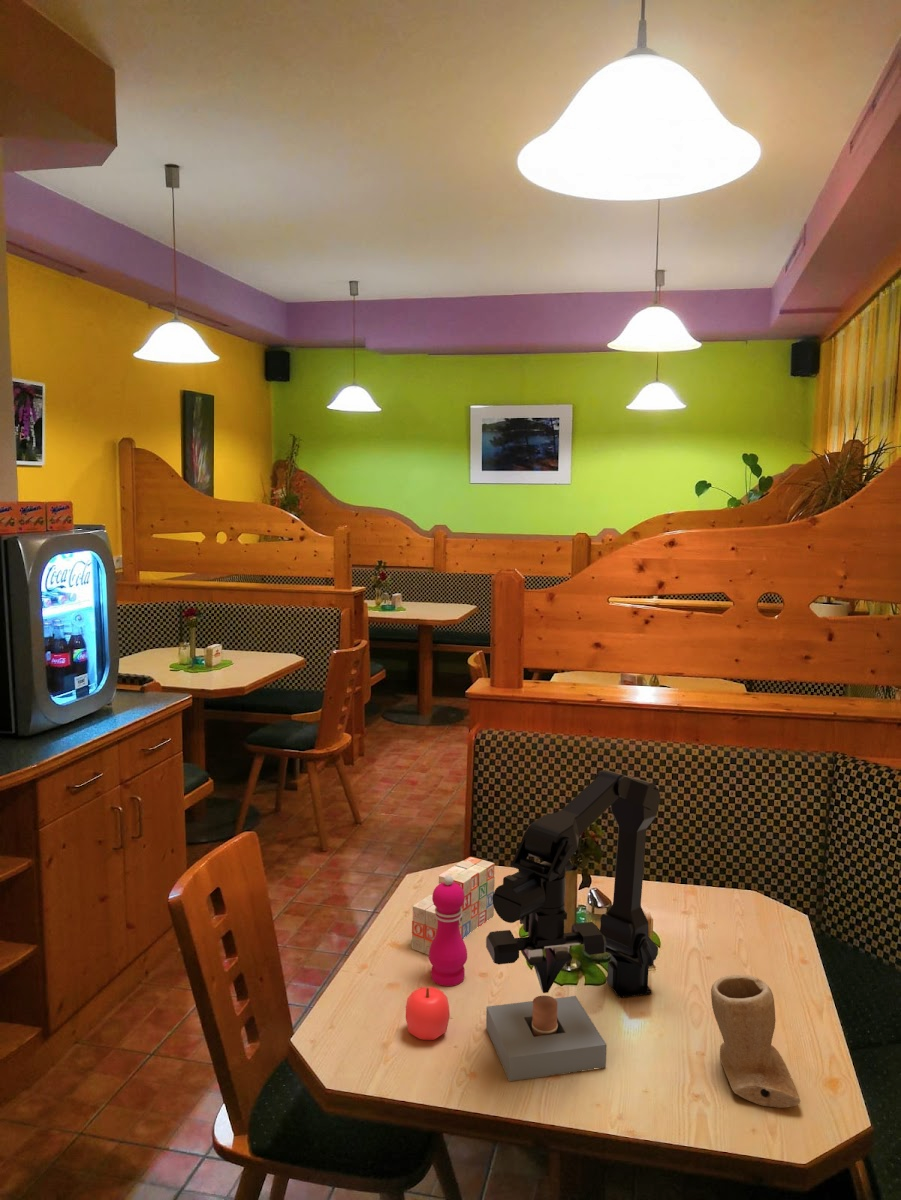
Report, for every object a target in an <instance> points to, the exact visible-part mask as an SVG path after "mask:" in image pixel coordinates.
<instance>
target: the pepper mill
mask: <svg viewBox="0 0 901 1200" xmlns="http://www.w3.org/2000/svg"><path fill="white" fill-rule="evenodd" d="M432 894H433V896H432V900H433V903H434V905H435V907H436V908H435V917H436V918H437V921H438V927H437V933H436V935H435V938H434V940H433V942H432V944H431V946H430V950H429V955H428V960H429V963H430V964H431V965H432V966H431V968H430V969H431V970H430V976H431V980H432V981H433V983H435V984H437V985H440V986H445V987H454V986H457V985H460V984H461V983H462V982H463V981H464V979H465V971H466V970H465V966H464V965H465V964H466V962H467V960H468V950H467V946H466V943H465V941H464V938H463V939H462V936H461V934H460V930H459V919H460V918H461V917H462V914H461V912H462V909H461V906H462V905H463V903H464V900H465V896H464V891H463V889H462V888H461V887H460V886H459V885H458V884H456V883H453V878H452V877H451V876H446V877H445V878H444V882H443V883H441V884H439V883H438V885H437V886H435V888H434V889H433V893H432Z"/></svg>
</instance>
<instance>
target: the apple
mask: <svg viewBox="0 0 901 1200" xmlns="http://www.w3.org/2000/svg"><path fill="white" fill-rule="evenodd" d="M406 999H407V1000H406V1003H405V1022H406V1026H407V1030H408V1033H409V1034H411V1035H412V1036H414V1037H415V1038H417V1039H420V1040H423V1041H434V1040H436V1039H437V1038H439V1037H440V1036H442V1035H443V1034H445V1033H446V1032H447V1031H448V1025H449V1021H450V1004H449V999H448V997H447V995H446V994H445V993H444V992H443V991H442V990H440V989H438V988H436V987H435V986H429V987H428V986H424V987H423V986H422V987H419V988H417V989H416V990H414V991H412V992H411V993H410V994H409V996H408V997H407V998H406Z"/></svg>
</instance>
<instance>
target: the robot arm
mask: <svg viewBox="0 0 901 1200" xmlns="http://www.w3.org/2000/svg"><path fill="white" fill-rule="evenodd" d="M660 793H661V792H660V789H659V788H658V787H657V785H656V784H655V783H654V782H650V781H647V780H643V779H640V778H636V777H632V776H629V775H625V774H622V773H619V772H615V771H611V770H607V769H604V770H599V771H598V772H597V774H596V775H595V778H594V779H593V780H592V782H590V783H589V784H588V785H587V786H586V787H585V788H584V789H582V790H581V792H579V793H578V794H577V795H576V796H575V797H573V799H571V801H569V802H568V803H567V804H566V805H565V806H564V807H563V808H562V809H560V810H558V811H557V812H554V813H553V812H552V813H549V814H548V813H547V814H544V815H543V816H541V817H539V818H537V819H536V820H534V821H533V822H531V823H530V824H529V825H528V827H527V828H526V830H525V831H524V834H523V835H522V838H521V840H520V843H519V845H518V848H517V850H516V853H515V855H514V857H513V860H512V861H511V863H510V866H511V867H512V868H514V869H516V870H518V871H517V872H515V873H513V874H508V875H506V876H504V877H503V879H502V884H501V885H499V886H497V887H496V888H495V889H494V894H493V897H492V900H493V906H494V912H496V914H497V915H498V917H499V918H500V919H501V920H502V921H504V922H505V923H508V924H513V923H516V922H517V921H519V924H520V925H523V926H522V927H523V928H522V929H523V931H524V933H528V934H527V935H528V936H523V937H515V936H514V934H513V932H512V931H511V929H506V930H494V931H490V932H489V933H488V934H487V936H486V938H485V943H486V944H485V948H486V949H487V952H488V953H489V955H490V957H491V959H492V962H493V963H494V964H496V965H506V964H514V963H516V961H518V960H519V958H520V951H521V953H522V955H523V957H524V958H525V960H526V962H527V965H529V966H533V968H534V970H535V975H536V977H537V980H538V983H539V986H540V990H541V992H542V993H543V994H548V993H549V991H550V990H551V988H552V986H553V984H554V982H555V981H556V979H557V977H558V975H559V973H561V971H562V970H563V968H564V967H565V965H566V964H567V963H569V962H572V961H573V956H572V954H571V953H570V948H571V946H579V945H583V947H582V949H583V951H584V952H585V953H586V954H587V955H589V956H590V955H591V956H592V955H598V954H599V955H600V954H601V955H602V954H605V953H608V954H610V960H608V962H607V976H606V978H605V980H606V982H607V984H608V985H609V987H610V988H611V989H612V990H613V992H614V993H615V995H617V997H618V998H629V997H638V996H644V995H652V991H653V990H652V989H651V988H650V986H649V967H651V966H652V967H653V966H654V964H655V963H654V962H655V960H656V959H657V956H658V951H659V947H658V945H657V944H656V943H655V942H654V941H653V940H652V939H651V938H650V934H649V929H650V928H649V921H648V919H647V916H646V915H645V912H644V910H643V908H642V893H643V892H642V891H643V882H644V881H643V880H644V877H643V876H644V865H645V853H646V852H645V851H646V840H647V830H648V827H649V826H650V825H651V823H652V822H653V821H654V819H656V817H657V816H658V809H659V805H660V803H661V794H660ZM609 808H610V811H611V813H612V815H613V818H614V820H615V821H616V824H617V826H618V830H617V831H618V832H617V845H616V847H617V848H616V857H615V871H614V884H613V885H614V887H613V897H612V901H613V902H612V905H610V907H609V908H608V910H607V911H606V912H605V913H602V914H601V916H600V927H598V926H597V925H596V924H595V923H594V922H593V921H587V922H578V923H575V922H574V923H572V925H571V931H570V932H565V920H566V921H567V920H568V912H567V911H566V910H565V909H566V908H565V907H566V874H567V872H568V871H570V870H572V869H573V868H574V864H573V862H571V861H570V859H572V857H573V855H574V854H575V852H577V850H578V849H579V841H580V837H581V836H582V834H583V833H584V832H585V831H586V830H587V829H588V828H590V826H591V825H592V824H593V823H595V822H596V820H598V819H599V817H601V816H602V814H604V812H606V811H607V810H608V809H609ZM529 856H530V857H533V858H535V859H538V860H540V861H542V862H537V861H534V860H532V859H529V858H528V857H529ZM544 952H545V955H544Z"/></svg>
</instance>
